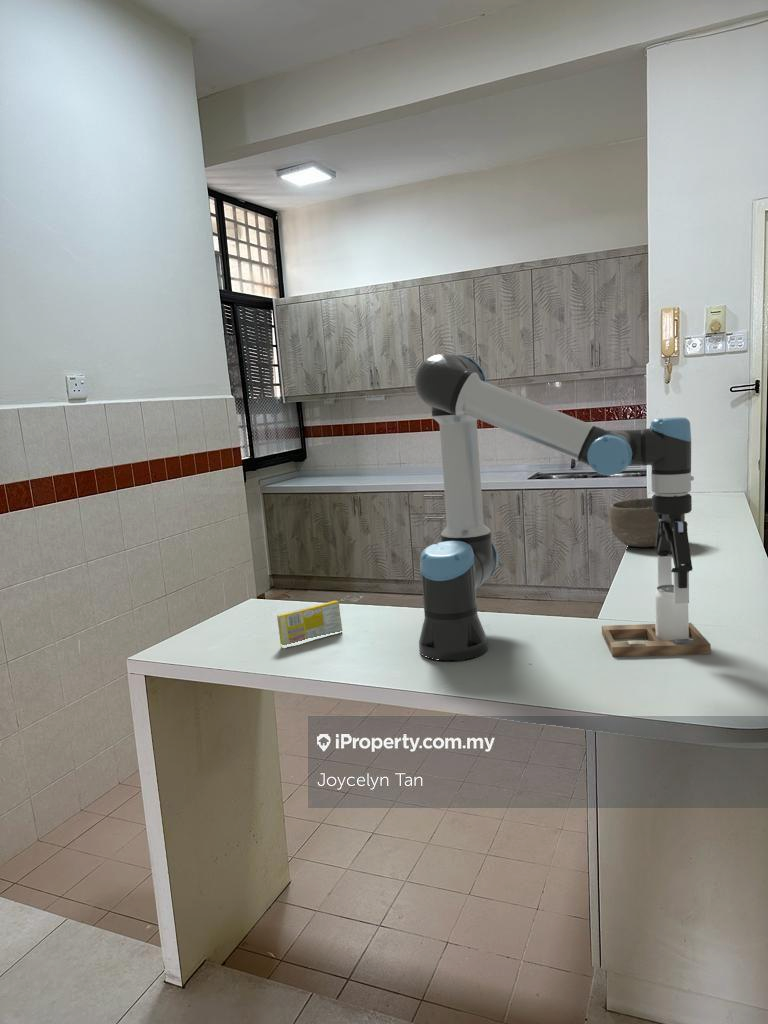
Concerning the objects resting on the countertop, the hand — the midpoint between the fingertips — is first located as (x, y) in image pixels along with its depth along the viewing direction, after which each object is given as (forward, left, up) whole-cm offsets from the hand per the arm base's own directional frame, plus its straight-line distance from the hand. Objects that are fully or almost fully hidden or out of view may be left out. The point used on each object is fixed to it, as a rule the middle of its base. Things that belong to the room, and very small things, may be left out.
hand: (672, 593), depth 147 cm
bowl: (+15, +99, -11) cm, 101 cm away
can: (0, 0, -11) cm, 11 cm away
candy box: (-82, +10, -11) cm, 83 cm away
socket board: (-4, 0, -11) cm, 11 cm away
